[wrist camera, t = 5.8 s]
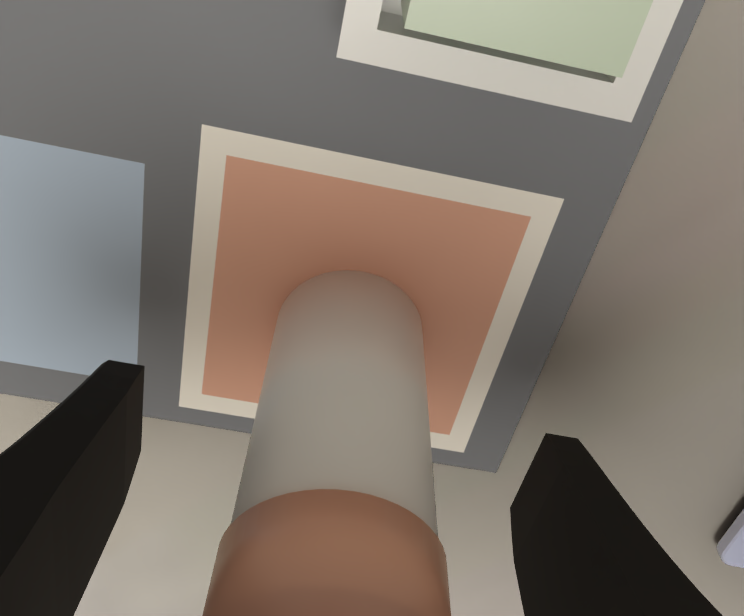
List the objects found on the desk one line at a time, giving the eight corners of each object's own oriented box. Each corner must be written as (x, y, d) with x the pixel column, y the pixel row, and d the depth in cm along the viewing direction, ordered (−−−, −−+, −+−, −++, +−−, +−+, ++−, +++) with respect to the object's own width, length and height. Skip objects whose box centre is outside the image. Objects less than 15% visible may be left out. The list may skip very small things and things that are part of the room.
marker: (444, 282, 15) (487, 608, 8) (406, 402, 17) (419, 743, 10) (282, 252, 14) (203, 567, 8) (263, 378, 16) (186, 715, 10)
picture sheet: (791, -267, 11) (827, -276, 10) (490, 444, 19) (496, 472, 18) (-291, -583, 9) (-361, -627, 8) (-105, 346, 17) (-130, 372, 16)
